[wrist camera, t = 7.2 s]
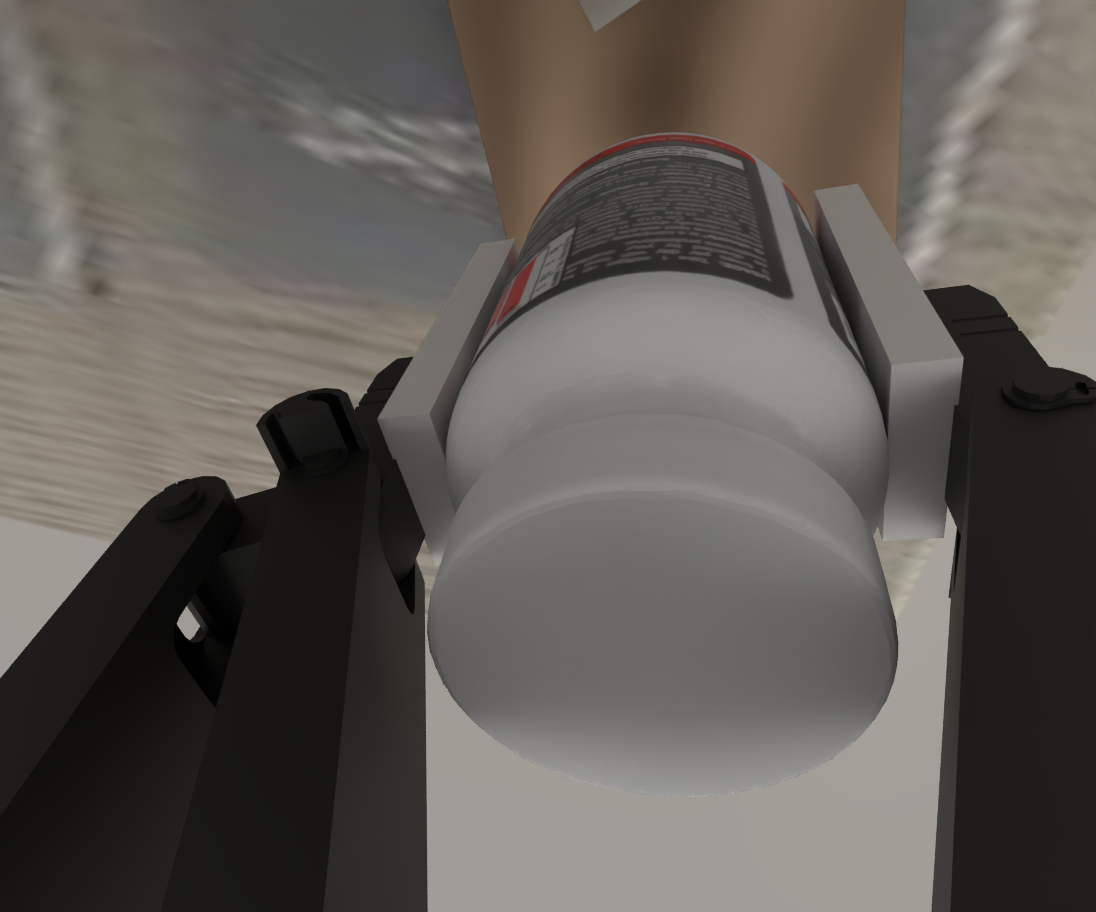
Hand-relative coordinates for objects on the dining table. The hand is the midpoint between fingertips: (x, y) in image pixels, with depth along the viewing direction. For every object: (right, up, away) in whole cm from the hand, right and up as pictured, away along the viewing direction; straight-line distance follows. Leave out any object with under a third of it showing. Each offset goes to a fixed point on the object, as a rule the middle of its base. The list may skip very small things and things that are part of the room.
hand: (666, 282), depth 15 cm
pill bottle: (0, 0, 0) cm, 1 cm away
